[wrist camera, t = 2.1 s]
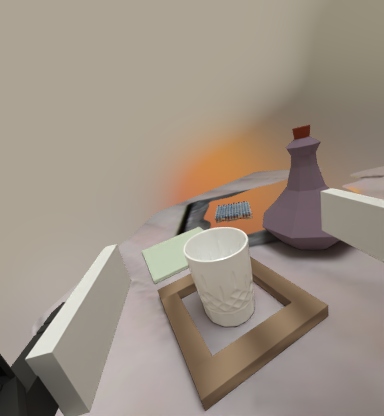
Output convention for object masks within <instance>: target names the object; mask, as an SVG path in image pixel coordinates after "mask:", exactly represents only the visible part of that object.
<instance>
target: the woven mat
mask: <svg viewBox="0 0 384 416" xmlns="http://www.w3.org/2000/svg"><path fill="white" fill-rule="evenodd" d="M245 204H246V205H245ZM240 205H241V206H240ZM249 205H250V204H249V203H248V202H244V204H243V203H239V202H238V204H237V203H236V204H234V203H233V205H232V204H231V205H229V204H228V205H226V206H225V205H223V206H221V207H220V206H219V205H218V207H217V211H216V216H215V217H216V218H215V220H216V223H220V222H222V221H227V222H229V221H236V220H238V219H241V218H242V219H251V218H253V217H252V216H250V215H252V213H251V210H250V206H249ZM230 206H231V207H230ZM227 217H228V218H227Z"/></svg>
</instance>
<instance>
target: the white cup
mask: <svg viewBox="0 0 384 416" xmlns="http://www.w3.org/2000/svg"><path fill="white" fill-rule="evenodd" d="M183 253H184V255H185V258H186V261H187V264H188V267H189V270H190V272H191V275H192V278H193V281H194V284H195V286H196V288H197V291H198V294H199V296H200V299H201V300H202V303H203V306H204V309H205V312H206V314H207V316H208V317H209V318H210V319H211V320H212V322H214V323H216V324H219V325H221V326H224V327H229V326H238V325H240V324H242V323H244V322H246V321H247V320H248V319H249V318H250V316H251V315H252V314H253V312H254V304H255V300H254V293H253V279H252V268H251V260H250V252H249V244H248V237H247V235H246V234H245V233H244V232H243V231H241V230H239V229H236V228H231V227H218V228H212V229H208V230H205V231H202V232H200V233H198V234H196V235H194V236H193V237H191V238H190V239H189V240H188V241H187V242H186V243H185V245H184V247H183Z"/></svg>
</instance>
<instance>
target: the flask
mask: <svg viewBox="0 0 384 416" xmlns="http://www.w3.org/2000/svg"><path fill="white" fill-rule="evenodd" d="M309 134H310V125H307V126H302V127H298V128H294V129H293V135H294V140H293V141H292V142H291V143H290V144H289V145H288V146H287V147H286V148H287V150H288V152H289V153H290V155H291V169H290V173H289V178H288V184H287V187H286V188H285V190H284V191H283V192H282V194H281V195H280V196H279V197H278V199H277V200H276V201H275V202H274V203H273V204H272V205H271V206H270V208H269V209H268V210H267V211H266V212H265V213H264V218H263V227H264V228H265V229H266V230H268V231H269V232H270V233H272V234H273V235H274V236H276V237H277V238H278V239H280V240H281V241H282V242H284V243H286V244H288V245H291V246H293V247H295V248H298V249H300V250H325V249H327V248H329V247H330V246H332V245H334V244H335V243H337V242H339V241H340V239H338V238H336V237H334V236H332V235H330V234H328V233H326V232H324V231H322V220H321V191H323V190H327V189H330V188H329V187H327V186H326V185H325V183H324V180H323V178H322V175H321V172H320V170H319V167H318V164H317V159H316V150H317V148H318V146H319V144H320V141H318V140H316V139H314V138H312V137H310V136H309Z"/></svg>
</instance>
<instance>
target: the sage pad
mask: <svg viewBox="0 0 384 416" xmlns="http://www.w3.org/2000/svg"><path fill="white" fill-rule="evenodd" d="M202 231H204V230H203V229H201V228H200V227H197V228H195V229H193V230H190V231H188V232H186V233H183V234H181V235H178V236H176V237H174V238H171V239H169V240H166V241H164V242H162V243H159V244H157V245H154V246H152V247H150V248H147V249H145V250H142V253H143V256H144V258H145V261H146V263H147V266H148V268H149V271H150V273H151V276H152V278H153V281H154V283H155V284H156V283H158V282H160V281H162V280H164V279H166V278H168V277H170V276H172V275H174V274H176V273H179V272H181V271H183V270H185V269H187V268H189V267H188V264H187V261H186V258H185V255H184V253H183V247H184V245H185V243H186V242H187V241H188V240H189V239H190V238H191V237H193V236H194V235H196V234H198V233H200V232H202Z"/></svg>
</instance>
